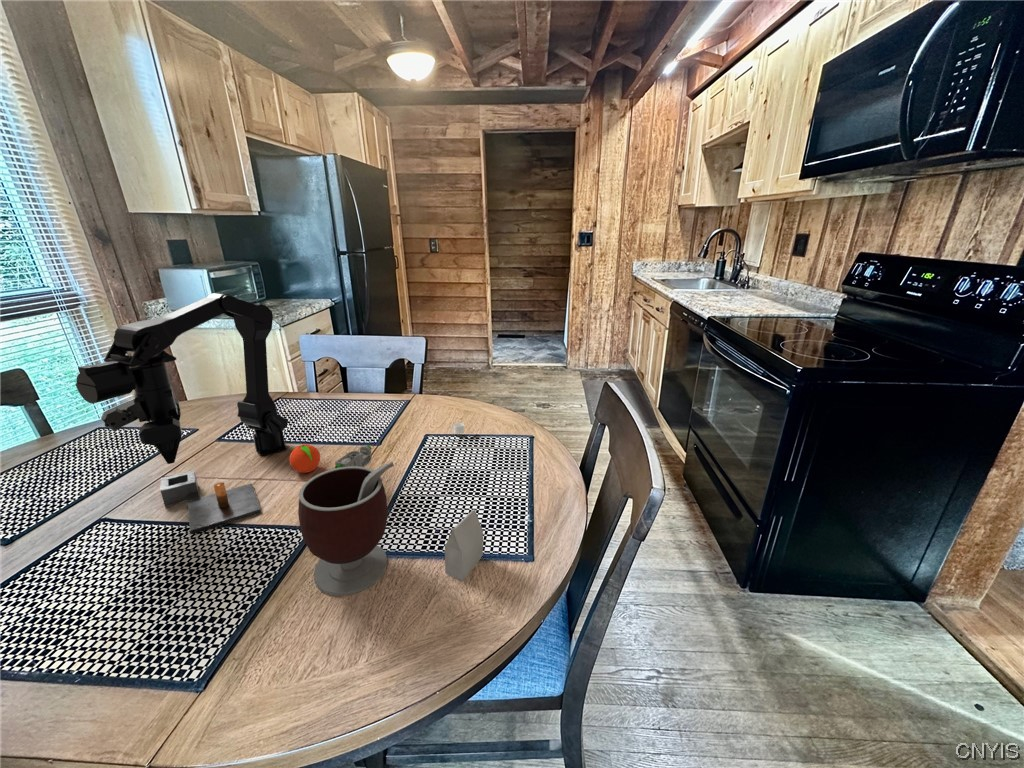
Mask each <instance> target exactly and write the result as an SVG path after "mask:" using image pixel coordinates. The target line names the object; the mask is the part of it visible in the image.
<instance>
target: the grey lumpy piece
mask: <svg viewBox="0 0 1024 768" xmlns="http://www.w3.org/2000/svg"><path fill="white" fill-rule="evenodd" d="M371 461H372V447H371V446H370V445H369V444H366V445H362V446H361V447H360V448H359V451H358V450H353V451H349V452H347V453H346V454H345V455H344V456H342V457H340V458H339V459H337V460H336V461H335V466H334V469H335V468H340V467H348V466H358V467H366V466H368V465H369V464H370V463H371Z"/></svg>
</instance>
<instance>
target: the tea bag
mask: <svg viewBox="0 0 1024 768" xmlns="http://www.w3.org/2000/svg"><path fill="white" fill-rule="evenodd" d="M482 556H483V557H484V529H483V528H482V524H481V522H480V521H479V517H478V514H477V512H476V509H472V510H471V511H470V512H469V513H468V514H466V516H465V517H464V518H462V519H461V520H460V521H459V522H458V523H457V524H456V525H455V526H454V527H453V528H452V529H451V532H450V535H449V538H448V539H447V541H446V542H445V545H444V568H445V569H444V571H445V573H444V574H446V575H449V576H451V577H452V578H454V579H457V580H459V581H461V582H463V581H464V580H465V579H466V578H467V577H468V575H469V574H470V573H471V572H472V571H473V569H474V568H475V567H476V566H477V565H478V563H479V562H480V561H481V560H482V559H481V557H482ZM483 557H482V558H483ZM480 559H481V560H480ZM479 560H480V561H479Z"/></svg>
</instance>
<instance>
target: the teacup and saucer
mask: <svg viewBox="0 0 1024 768" xmlns="http://www.w3.org/2000/svg"><path fill="white" fill-rule="evenodd" d="M452 427H453V428H452ZM449 428H450V431H453V429H454V433H457V434H460V433H463V432H464V430H465V423H463V422H456V423H454V424H451V425H450V427H449ZM464 433H465V432H464Z"/></svg>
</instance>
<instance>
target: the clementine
mask: <svg viewBox="0 0 1024 768" xmlns="http://www.w3.org/2000/svg"><path fill="white" fill-rule="evenodd" d="M320 462H321V454H320V451H319V449H317V447H315V446H313V445H311V444H306V443H305V444H300V445H299V446H297V447H295V448H294V449H293V450H292V452H291V453H290V455H289V464H290V467H291V468H292V469H293V470H294V471H296V472H298V473H303V474H304V473H305V474H306V473H311V472H312V471H313V470H316V468H317V467H318V466H319V464H320Z"/></svg>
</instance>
